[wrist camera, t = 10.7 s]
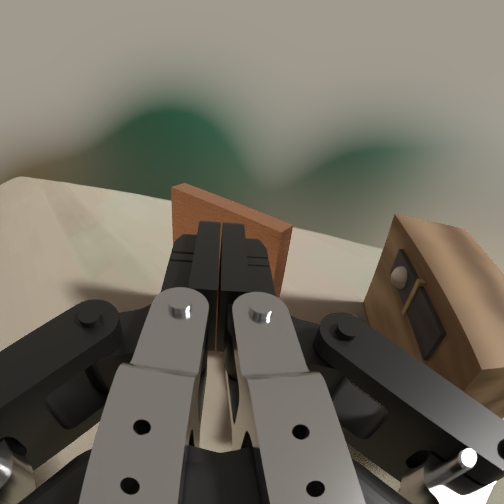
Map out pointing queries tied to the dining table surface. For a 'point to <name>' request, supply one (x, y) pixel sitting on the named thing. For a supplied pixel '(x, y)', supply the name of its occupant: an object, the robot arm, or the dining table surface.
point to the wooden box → (442, 305)
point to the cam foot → (223, 210)
